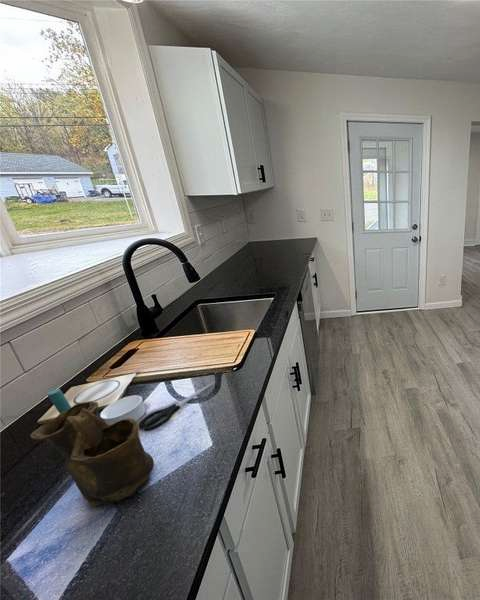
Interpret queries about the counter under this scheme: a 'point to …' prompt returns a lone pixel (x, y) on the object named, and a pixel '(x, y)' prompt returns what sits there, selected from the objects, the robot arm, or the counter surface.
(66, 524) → the counter surface
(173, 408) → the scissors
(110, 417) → the ramekin
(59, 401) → the marker
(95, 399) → the board
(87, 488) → the pottery vessel
